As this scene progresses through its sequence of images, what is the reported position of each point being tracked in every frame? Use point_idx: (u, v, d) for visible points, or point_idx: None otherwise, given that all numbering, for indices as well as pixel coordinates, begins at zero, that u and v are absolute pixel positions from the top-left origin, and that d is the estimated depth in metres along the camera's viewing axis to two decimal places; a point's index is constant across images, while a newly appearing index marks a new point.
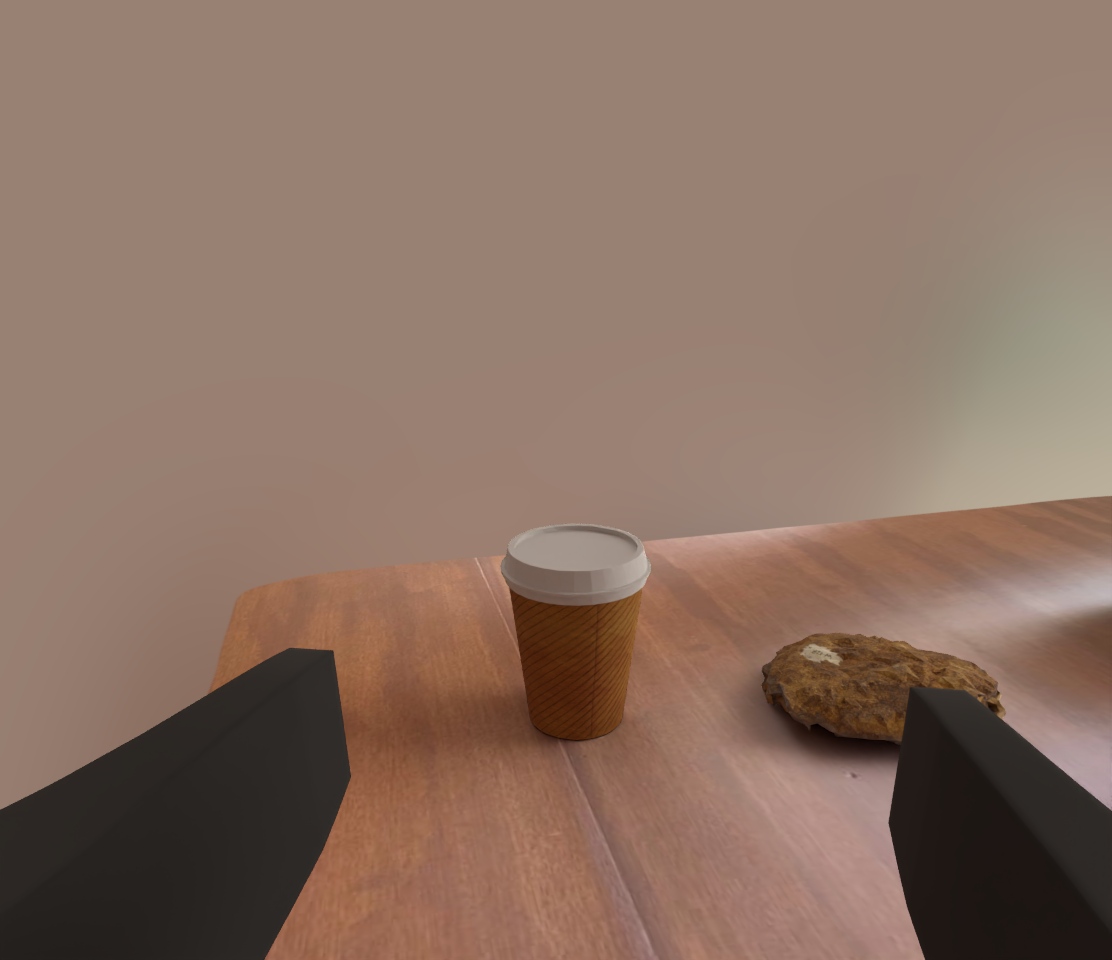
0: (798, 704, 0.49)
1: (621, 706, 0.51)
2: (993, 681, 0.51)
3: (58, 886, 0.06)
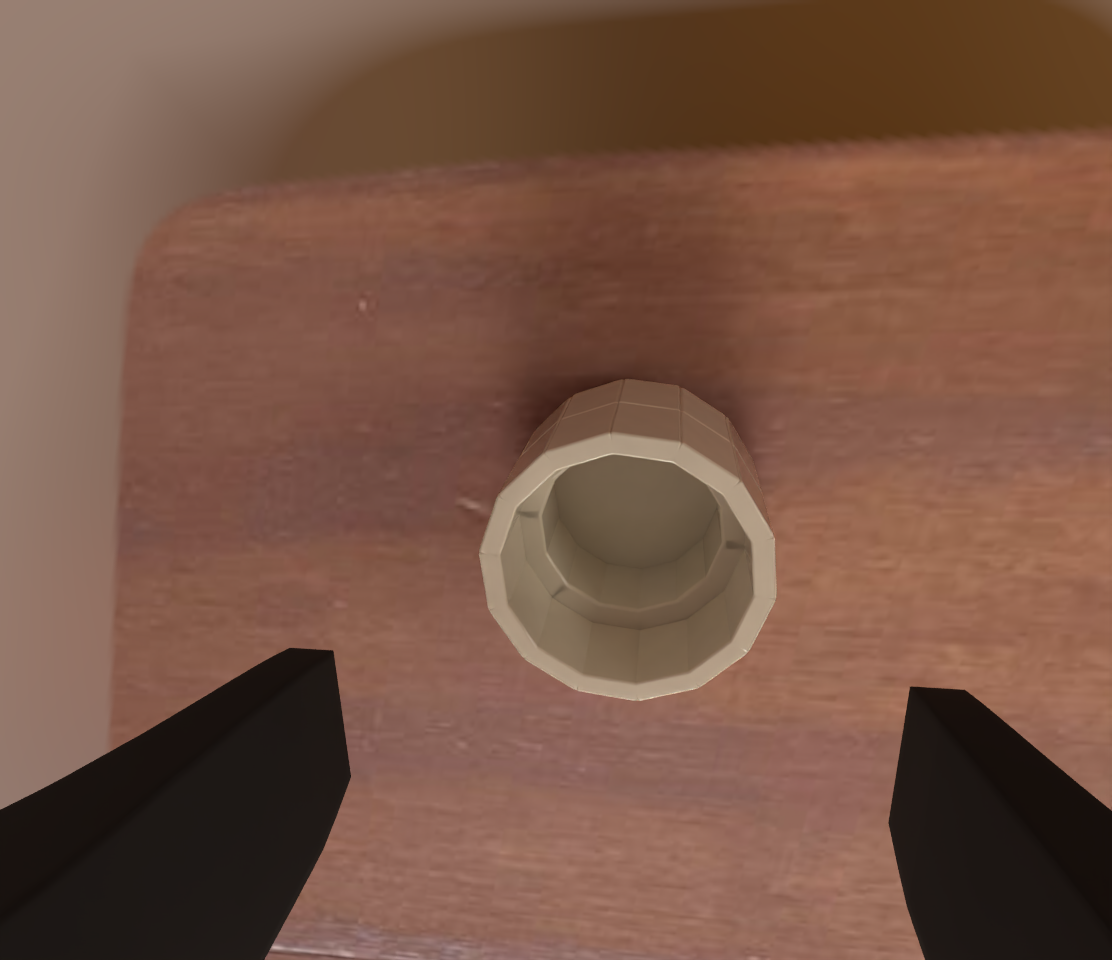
0: None
1: None
2: None
3: (56, 886, 0.06)
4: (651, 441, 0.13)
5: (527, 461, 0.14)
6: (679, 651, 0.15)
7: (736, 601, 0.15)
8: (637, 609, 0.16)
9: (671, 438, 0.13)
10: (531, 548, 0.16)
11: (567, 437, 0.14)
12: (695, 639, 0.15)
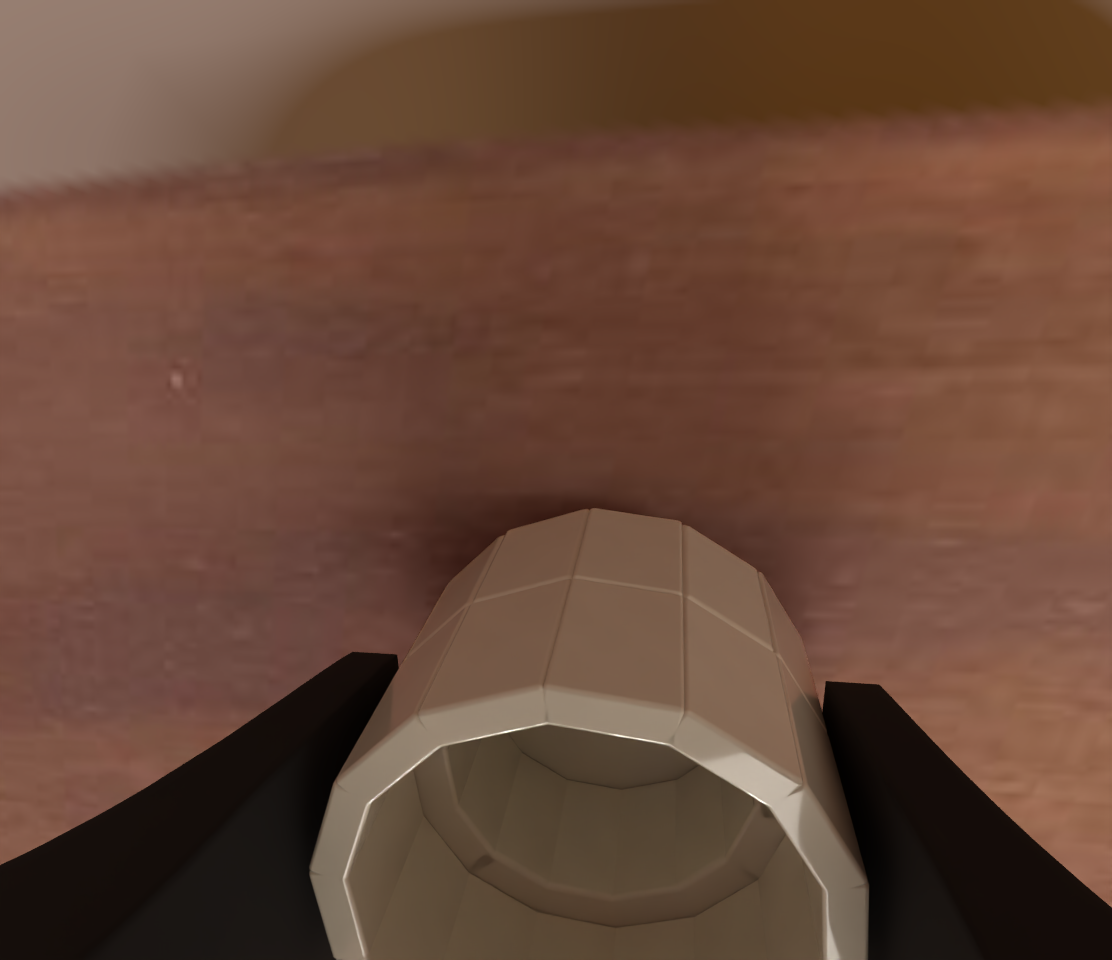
0: None
1: None
2: None
3: (162, 898, 0.06)
4: (625, 704, 0.07)
5: (395, 708, 0.07)
6: None
7: (784, 942, 0.08)
8: (611, 895, 0.10)
9: (665, 699, 0.07)
10: (433, 795, 0.10)
11: (466, 673, 0.07)
12: None
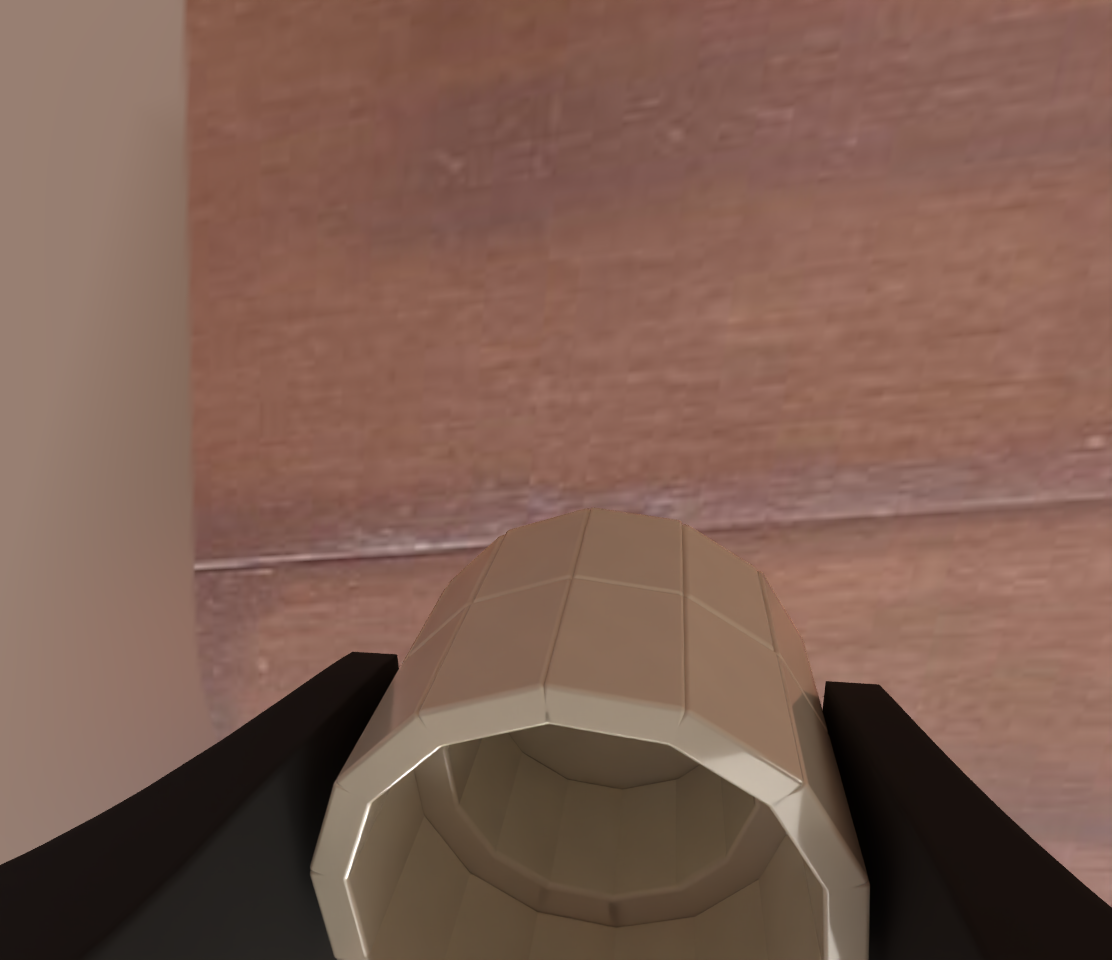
0: None
1: None
2: None
3: (162, 898, 0.06)
4: (626, 703, 0.07)
5: (396, 708, 0.07)
6: None
7: (785, 942, 0.08)
8: (612, 895, 0.10)
9: (666, 698, 0.07)
10: (434, 795, 0.10)
11: (467, 673, 0.07)
12: None
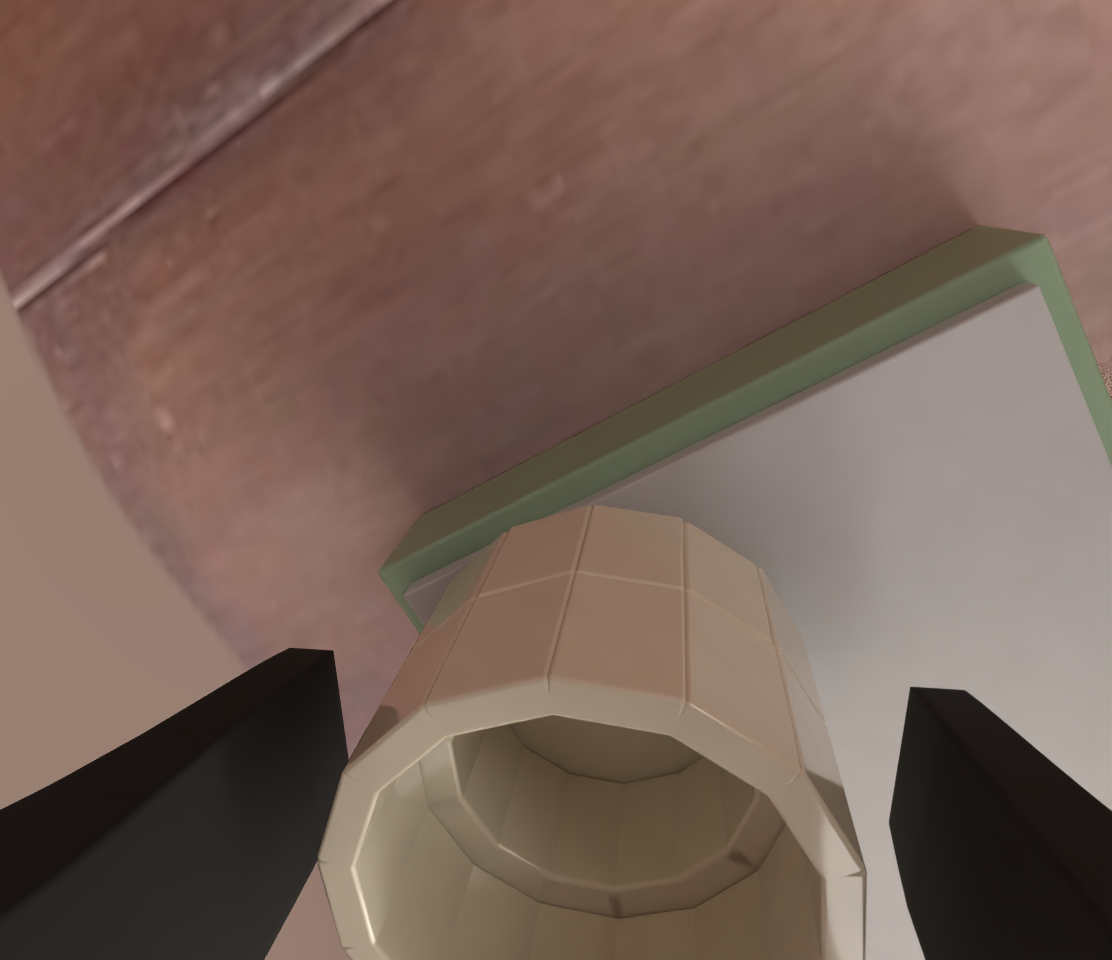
0: None
1: None
2: None
3: (58, 885, 0.06)
4: (628, 694, 0.07)
5: (402, 700, 0.08)
6: None
7: (784, 931, 0.08)
8: (613, 886, 0.10)
9: (667, 689, 0.07)
10: (437, 787, 0.10)
11: (472, 665, 0.07)
12: None
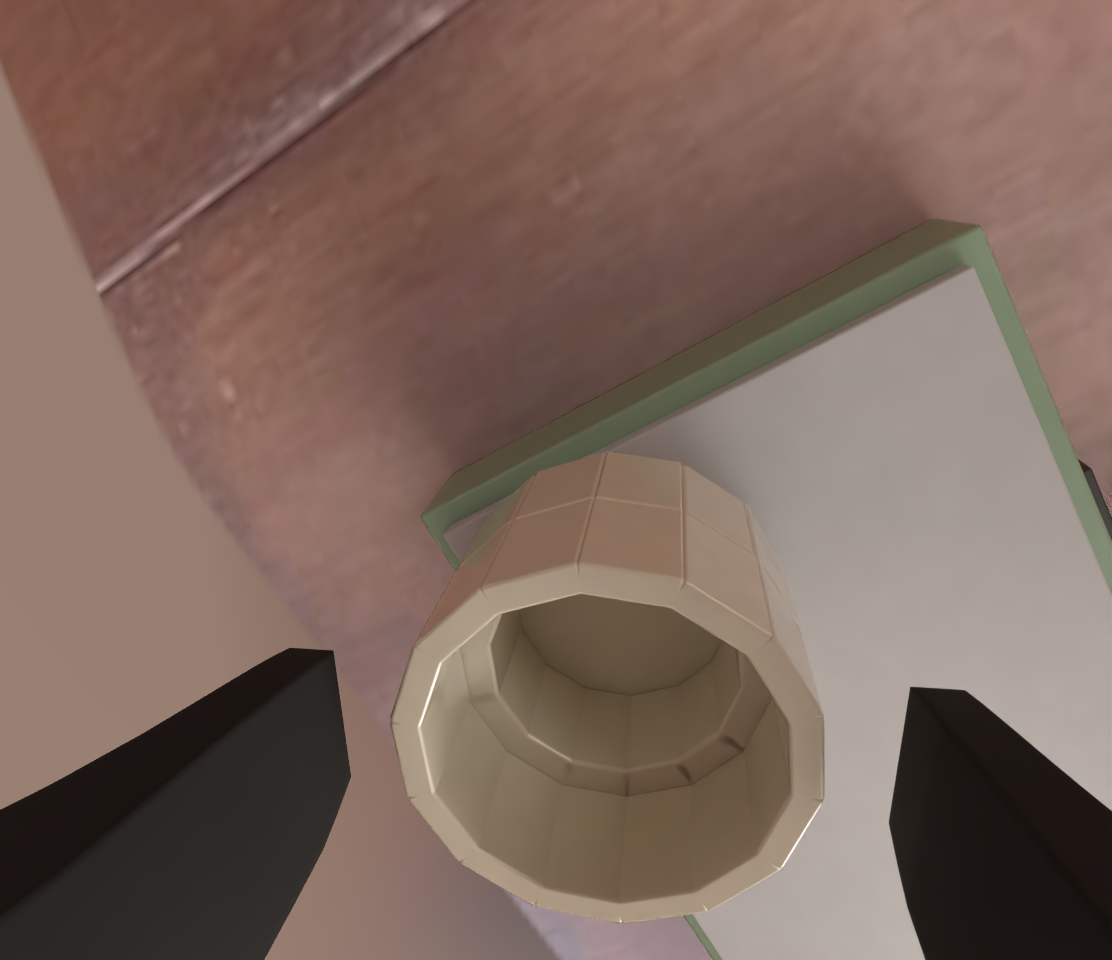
0: None
1: None
2: None
3: (56, 885, 0.06)
4: (639, 576, 0.09)
5: (459, 592, 0.10)
6: (681, 847, 0.11)
7: (763, 785, 0.10)
8: (623, 769, 0.12)
9: (669, 572, 0.09)
10: (478, 686, 0.12)
11: (516, 561, 0.09)
12: (703, 829, 0.11)
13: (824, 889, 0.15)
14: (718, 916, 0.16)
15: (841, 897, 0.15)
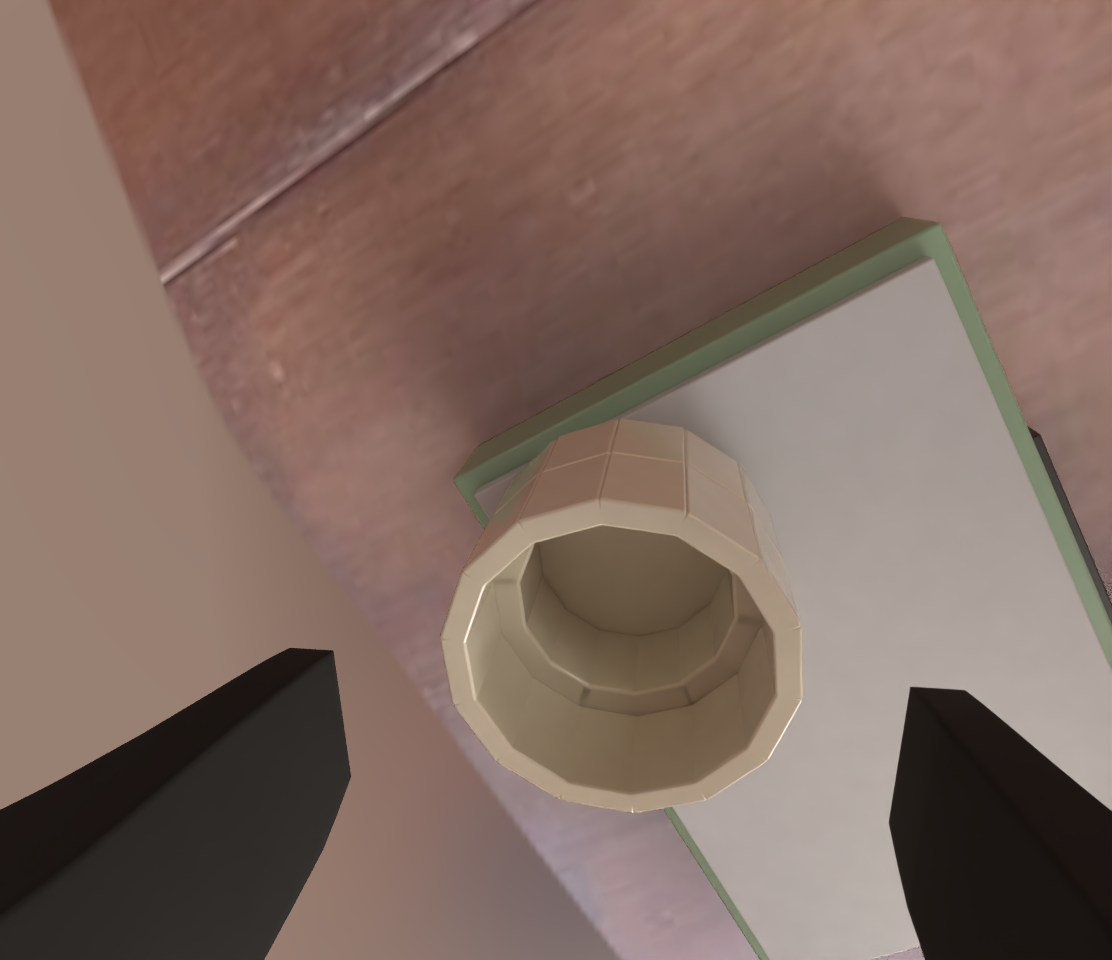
0: None
1: None
2: None
3: (58, 885, 0.06)
4: (650, 510, 0.11)
5: (498, 528, 0.12)
6: (683, 751, 0.13)
7: (752, 694, 0.12)
8: (633, 692, 0.14)
9: (674, 506, 0.11)
10: (508, 620, 0.14)
11: (547, 501, 0.11)
12: (703, 736, 0.13)
13: (810, 814, 0.17)
14: (716, 840, 0.18)
15: (825, 821, 0.17)
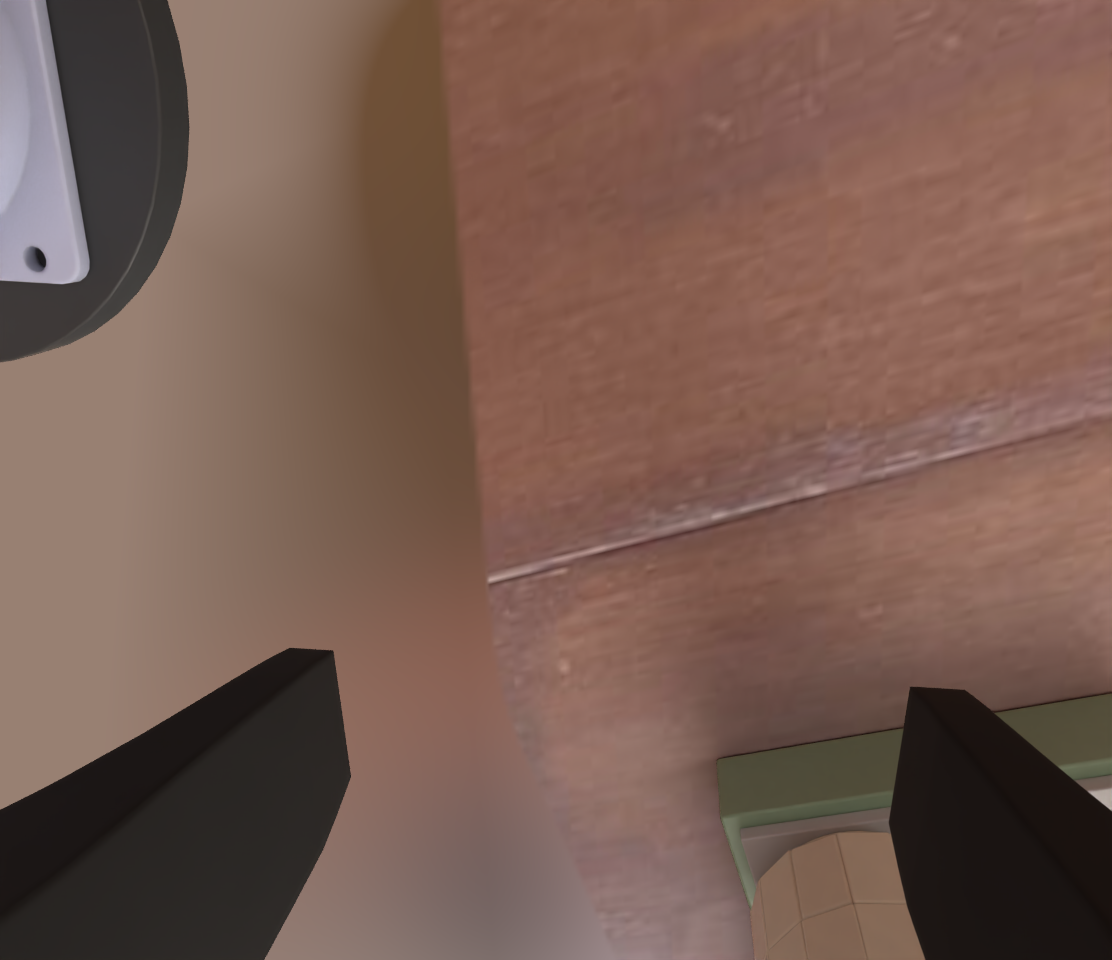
0: None
1: None
2: None
3: (56, 886, 0.06)
4: None
5: None
6: None
7: None
8: None
9: None
10: None
11: None
12: None
13: None
14: None
15: None
